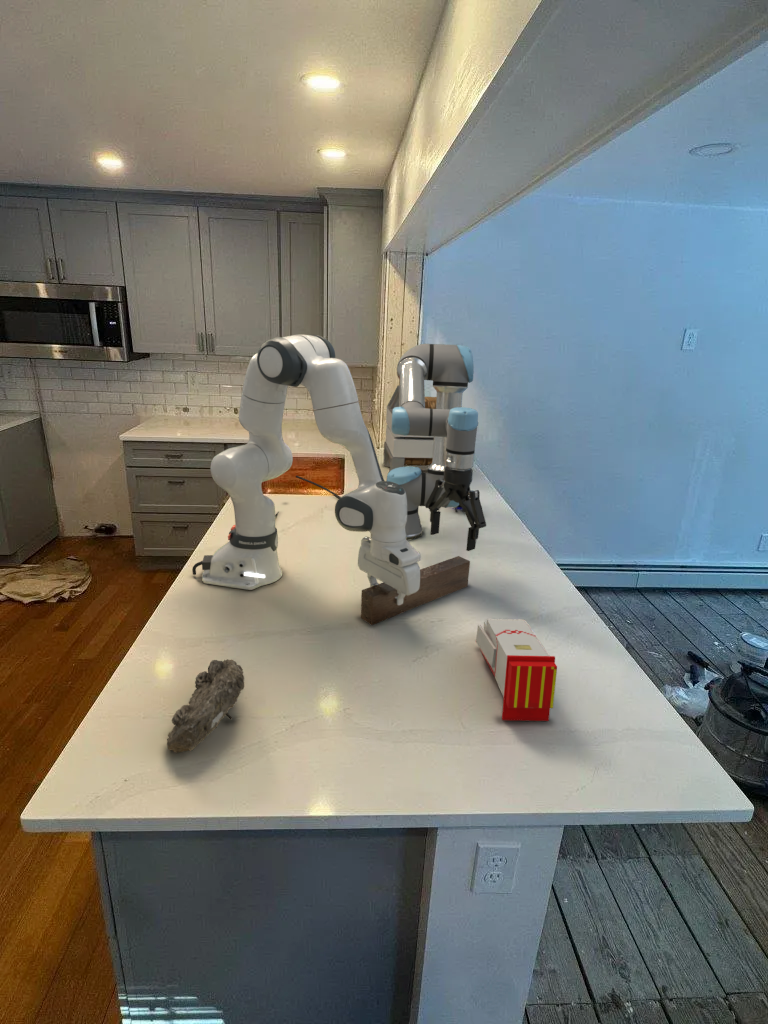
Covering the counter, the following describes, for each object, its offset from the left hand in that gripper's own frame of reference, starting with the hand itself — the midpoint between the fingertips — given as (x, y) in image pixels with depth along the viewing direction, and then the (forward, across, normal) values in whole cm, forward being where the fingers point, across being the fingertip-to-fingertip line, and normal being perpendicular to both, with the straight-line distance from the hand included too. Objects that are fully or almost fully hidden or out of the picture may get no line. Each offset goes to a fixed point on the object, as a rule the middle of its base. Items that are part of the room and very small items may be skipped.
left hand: (386, 596), depth 145 cm
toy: (+6, +36, +4) cm, 37 cm away
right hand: (-9, 0, +24) cm, 26 cm away
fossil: (+5, +9, -52) cm, 53 cm away
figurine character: (+5, -47, +79) cm, 92 cm away
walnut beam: (+5, 0, +12) cm, 13 cm away
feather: (+4, -80, +15) cm, 81 cm away
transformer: (+4, -92, +101) cm, 137 cm away
